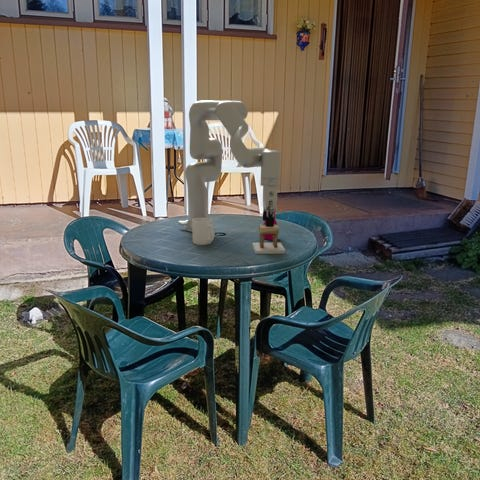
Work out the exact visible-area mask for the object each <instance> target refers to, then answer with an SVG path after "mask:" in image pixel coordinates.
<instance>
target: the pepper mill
mask: <svg viewBox="0 0 480 480" xmlns="http://www.w3.org/2000/svg"><path fill="white" fill-rule="evenodd" d="M278 205H279V204H278V201H277V206H278ZM276 213H277V211H275V210H274V225H278V226H279V224H278V222H277V220H276ZM262 225H266V221H263V223H262ZM267 239H268V241H271V240H272V241H273V234H264V240H267Z"/></svg>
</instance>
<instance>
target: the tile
mask: <svg viewBox="0 0 480 480" xmlns="http://www.w3.org/2000/svg"><path fill="white" fill-rule="evenodd" d="M259 244H260V242H252V248H253V251H254V253H255V255H256V254H258V255H261V254H268V255H270V254H271V255H272V254H286V249H285V248H284V246H283V244H282V242H278V243H277V248H274V246H273V242H264V248H260V245H259Z"/></svg>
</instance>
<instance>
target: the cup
mask: <svg viewBox="0 0 480 480" xmlns="http://www.w3.org/2000/svg"><path fill="white" fill-rule="evenodd" d="M192 230H193V232H192V243H193V244H194V245H197V246H206V245H211V244H212V242H213V241H214V239H215V235H216V234H215V228H214V225H213V219H212V218H210V217H208V218H194V219H192Z"/></svg>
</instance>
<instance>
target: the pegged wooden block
mask: <svg viewBox="0 0 480 480" xmlns="http://www.w3.org/2000/svg"><path fill="white" fill-rule="evenodd" d="M258 231H259V243H260V244H259V245H260V248H264V243H265V239H264V234H273V240H272V243H273V246H274V248H277V243H279V241H278V240H279V239H278V238H279V236H278V235H279V233H280V232H279V231H280V227H279V224H278V225H274V226H273V227H266V225H263V224H259V225H258Z"/></svg>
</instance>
